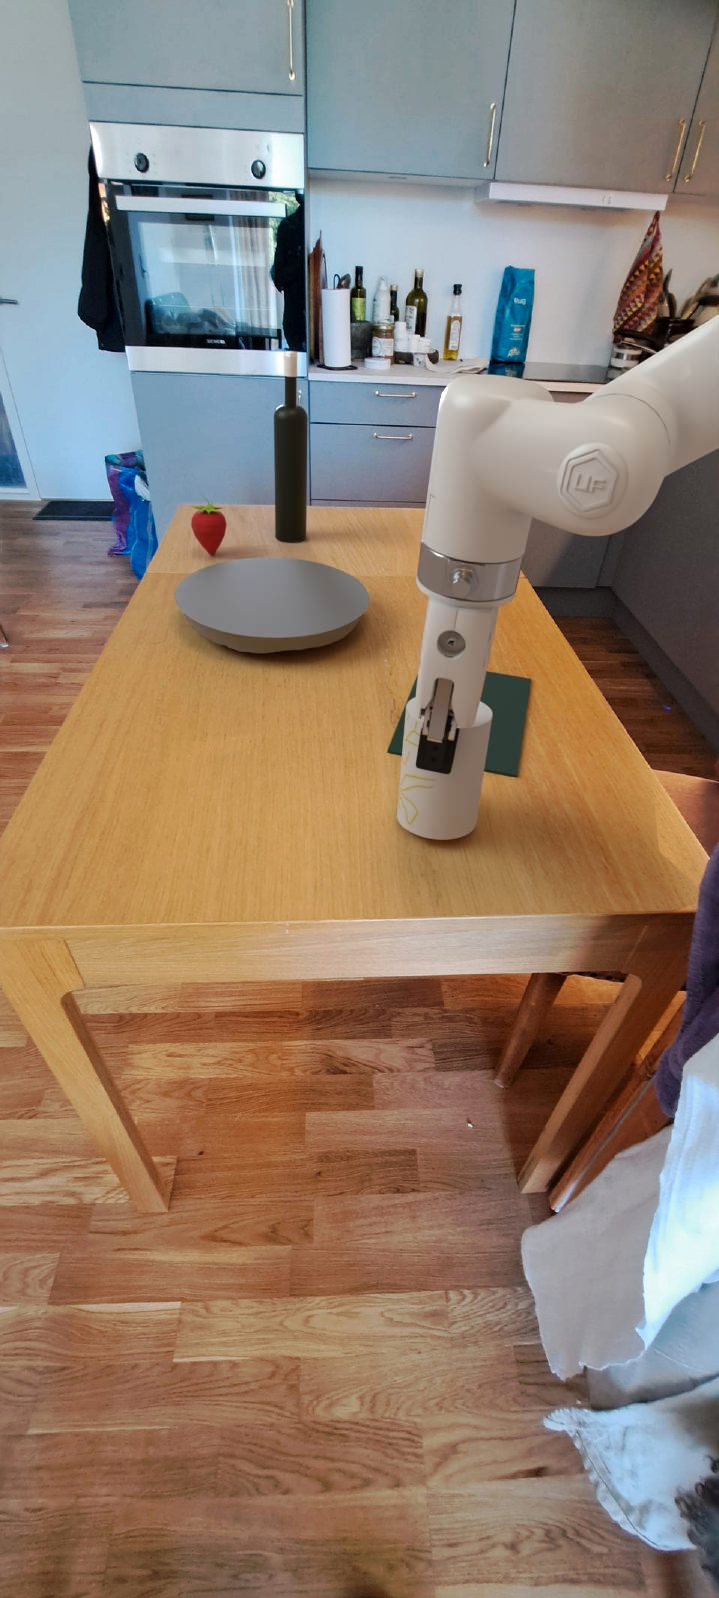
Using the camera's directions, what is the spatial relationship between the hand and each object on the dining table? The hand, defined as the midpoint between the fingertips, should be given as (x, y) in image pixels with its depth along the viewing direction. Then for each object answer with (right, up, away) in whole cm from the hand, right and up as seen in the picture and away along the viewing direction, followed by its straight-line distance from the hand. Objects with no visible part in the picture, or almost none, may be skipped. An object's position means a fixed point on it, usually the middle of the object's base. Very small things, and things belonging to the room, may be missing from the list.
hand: (434, 766), depth 66 cm
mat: (+7, +8, +26) cm, 28 cm away
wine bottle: (-20, +46, +72) cm, 88 cm away
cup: (+1, -5, +9) cm, 11 cm away
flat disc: (-19, +23, +44) cm, 53 cm away
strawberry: (-33, +40, +63) cm, 81 cm away
